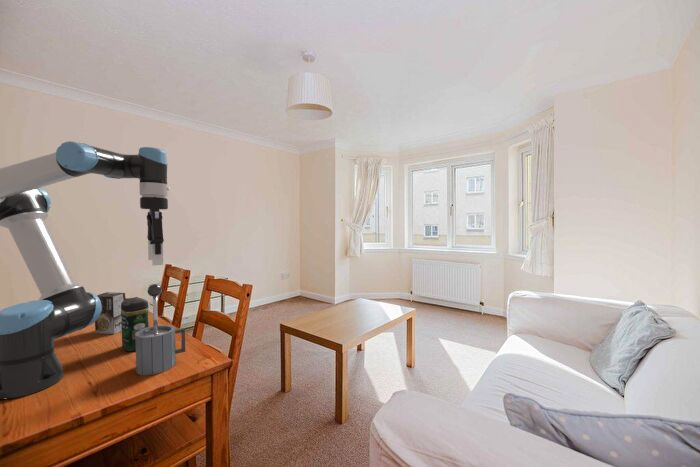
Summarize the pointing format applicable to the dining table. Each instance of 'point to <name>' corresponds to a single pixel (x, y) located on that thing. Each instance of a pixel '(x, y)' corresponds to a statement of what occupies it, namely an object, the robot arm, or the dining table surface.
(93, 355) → the dining table surface
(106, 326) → the coffee box
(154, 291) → the plunger
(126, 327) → the coffee jar
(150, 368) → the grey ribbed mug
